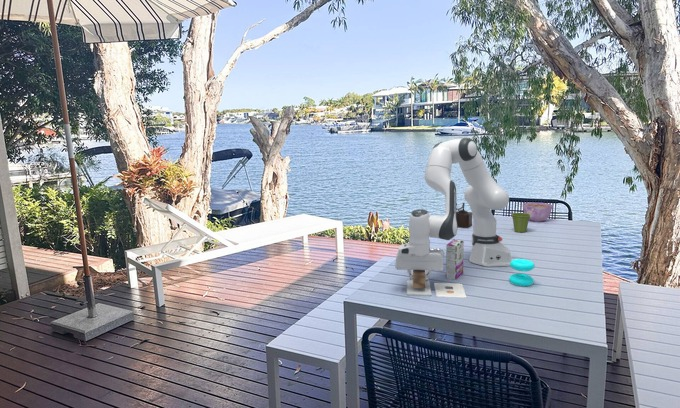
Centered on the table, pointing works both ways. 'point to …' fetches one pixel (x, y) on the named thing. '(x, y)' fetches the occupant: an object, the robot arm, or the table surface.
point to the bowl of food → (537, 210)
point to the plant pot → (520, 221)
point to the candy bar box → (454, 259)
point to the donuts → (519, 277)
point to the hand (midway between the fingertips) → (418, 279)
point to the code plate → (449, 290)
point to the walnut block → (419, 278)
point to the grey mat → (418, 289)
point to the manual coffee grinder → (463, 218)
